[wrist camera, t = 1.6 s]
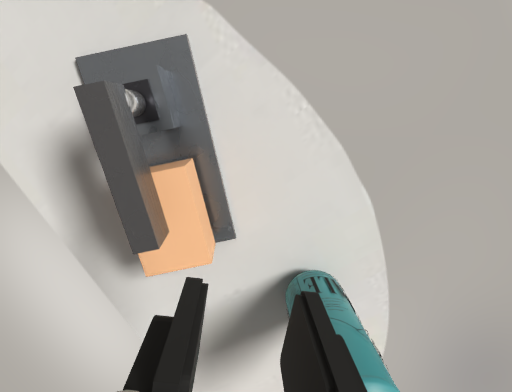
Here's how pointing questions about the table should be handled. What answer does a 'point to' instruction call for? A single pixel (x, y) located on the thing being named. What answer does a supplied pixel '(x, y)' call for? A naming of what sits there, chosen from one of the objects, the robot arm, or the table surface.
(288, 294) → the beverage bottle
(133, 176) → the t key
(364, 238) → the table surface
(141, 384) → the robot arm
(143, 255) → the cover
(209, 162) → the latch base
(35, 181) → the table surface
